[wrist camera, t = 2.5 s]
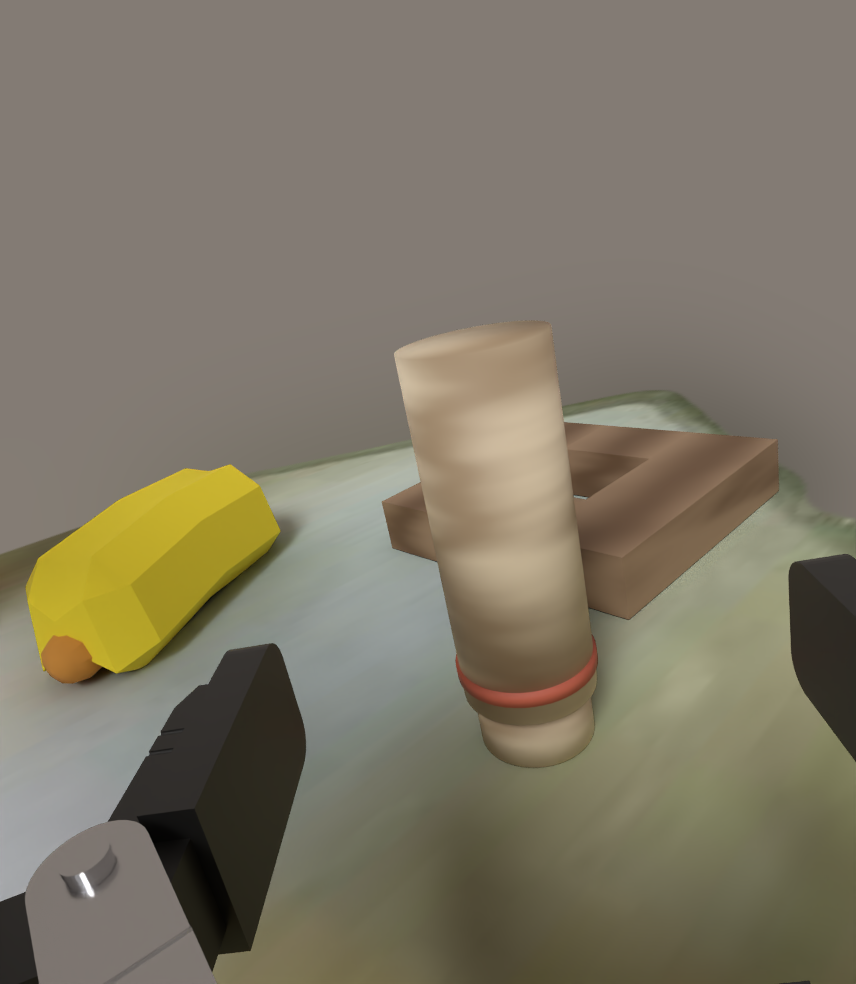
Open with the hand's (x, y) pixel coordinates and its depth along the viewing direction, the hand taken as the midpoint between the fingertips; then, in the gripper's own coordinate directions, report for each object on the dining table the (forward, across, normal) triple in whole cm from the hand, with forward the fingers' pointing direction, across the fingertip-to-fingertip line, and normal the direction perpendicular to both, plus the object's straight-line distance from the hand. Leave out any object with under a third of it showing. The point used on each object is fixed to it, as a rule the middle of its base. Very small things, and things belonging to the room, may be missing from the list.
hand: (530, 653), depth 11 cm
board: (+29, -4, +10) cm, 31 cm away
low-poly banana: (+26, +19, +11) cm, 34 cm away
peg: (+12, 0, +11) cm, 16 cm away
